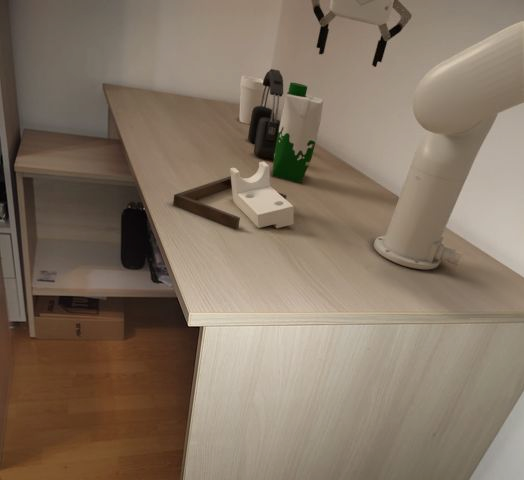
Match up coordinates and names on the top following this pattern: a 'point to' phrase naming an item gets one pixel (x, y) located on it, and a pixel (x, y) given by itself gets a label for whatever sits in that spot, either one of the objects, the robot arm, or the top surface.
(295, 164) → the milk carton
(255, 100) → the foam cup
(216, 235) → the top surface
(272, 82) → the headphones
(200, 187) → the bay
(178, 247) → the top surface
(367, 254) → the top surface
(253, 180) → the bracket
